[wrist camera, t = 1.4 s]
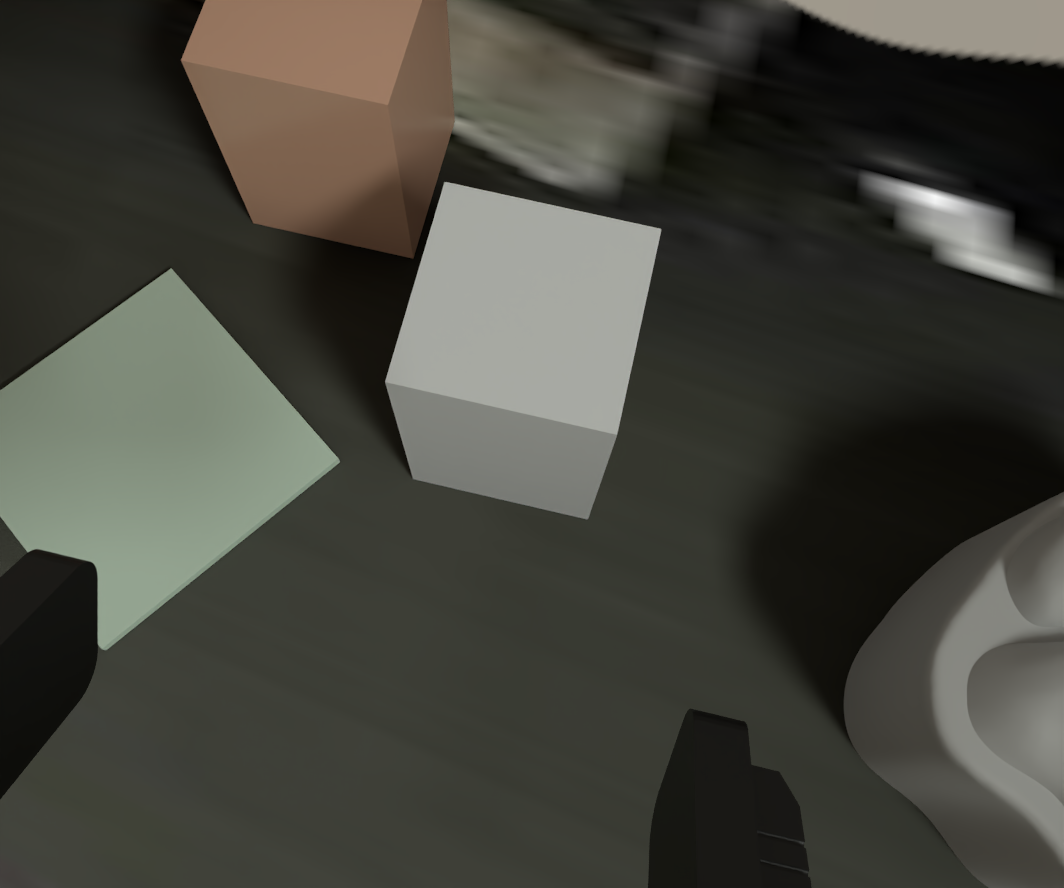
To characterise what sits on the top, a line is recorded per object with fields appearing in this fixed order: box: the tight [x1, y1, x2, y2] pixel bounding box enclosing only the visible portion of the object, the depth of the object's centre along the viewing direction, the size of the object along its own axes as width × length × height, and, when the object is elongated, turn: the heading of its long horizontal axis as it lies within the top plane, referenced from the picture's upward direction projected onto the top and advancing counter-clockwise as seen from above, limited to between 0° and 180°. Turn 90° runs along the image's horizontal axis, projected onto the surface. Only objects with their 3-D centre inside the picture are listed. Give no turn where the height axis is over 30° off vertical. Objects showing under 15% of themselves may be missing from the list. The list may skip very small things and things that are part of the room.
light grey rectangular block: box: [385, 182, 661, 519], centre depth 33 cm, size 6×6×9 cm
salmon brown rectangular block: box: [181, 0, 455, 259], centre depth 36 cm, size 6×6×9 cm
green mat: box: [0, 269, 340, 650], centre depth 36 cm, size 10×10×1 cm
